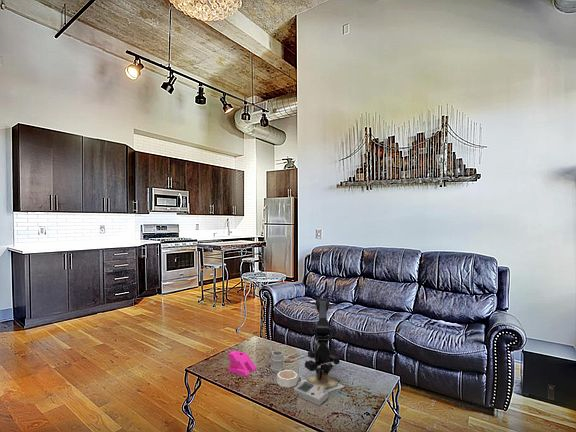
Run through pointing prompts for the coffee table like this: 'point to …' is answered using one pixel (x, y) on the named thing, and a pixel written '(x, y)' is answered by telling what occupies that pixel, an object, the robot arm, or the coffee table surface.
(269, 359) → the mug
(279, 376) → the bowl
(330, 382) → the lid
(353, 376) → the coffee table surface
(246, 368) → the bracket
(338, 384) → the mat
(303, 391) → the handheld gaming device
